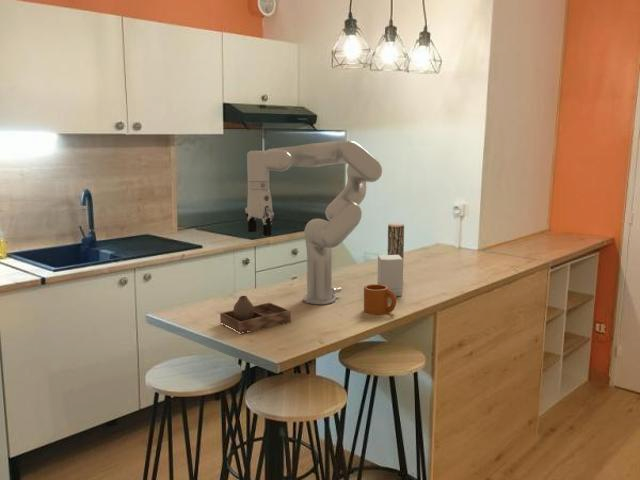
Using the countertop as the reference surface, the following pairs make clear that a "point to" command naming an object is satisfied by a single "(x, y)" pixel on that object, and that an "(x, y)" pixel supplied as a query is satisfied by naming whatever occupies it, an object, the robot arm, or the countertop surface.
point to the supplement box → (391, 272)
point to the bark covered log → (396, 239)
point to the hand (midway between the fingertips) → (259, 233)
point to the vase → (243, 309)
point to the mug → (378, 299)
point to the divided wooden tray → (258, 318)
